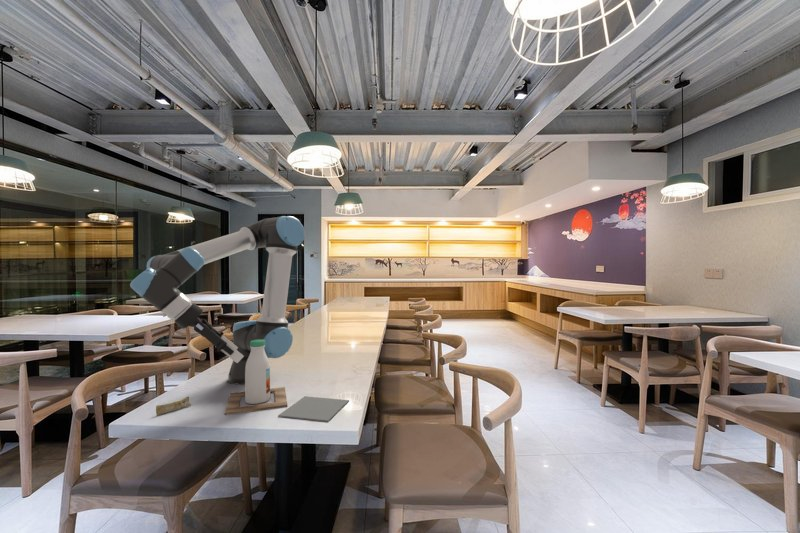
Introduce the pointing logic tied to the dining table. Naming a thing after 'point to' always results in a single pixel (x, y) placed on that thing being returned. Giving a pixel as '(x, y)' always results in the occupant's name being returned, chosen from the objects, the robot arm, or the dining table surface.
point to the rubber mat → (314, 409)
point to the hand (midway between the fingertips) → (237, 355)
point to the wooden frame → (235, 400)
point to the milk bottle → (257, 374)
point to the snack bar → (172, 406)
